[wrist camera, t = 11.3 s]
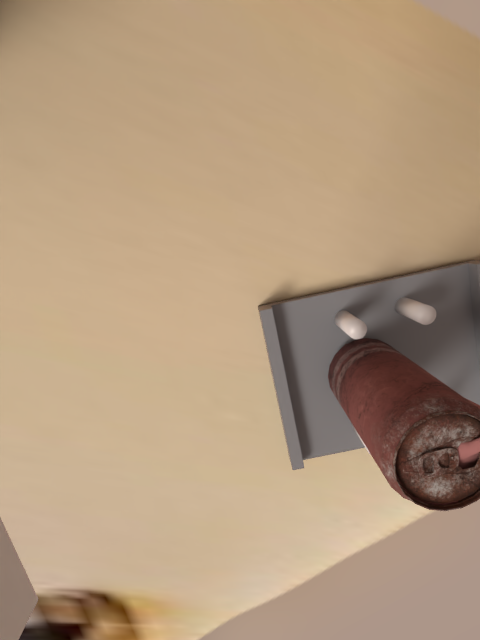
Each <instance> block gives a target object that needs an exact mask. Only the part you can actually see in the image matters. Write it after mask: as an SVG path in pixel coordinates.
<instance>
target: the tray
mask: <svg viewBox="0 0 480 640" xmlns="http://www.w3.org/2000/svg"><path fill="white" fill-rule="evenodd" d="M258 309H259V314H260V319H261V323H262V328H263V333H264V338H265V343H266V347H267V352H268V357H269V362H270V366H271V371H272V376H273V381H274V386H275V390H276V395H277V400H278V405H279V409H280V414H281V419H282V424H283V429H284V433H285V438H286V443H287V448H288V453H289V457H290V461H291V465H292V469H293V470H296V469H301V468H304V464H303V460H305V459H310V458H315V457H320V456H325V455H330V454H335V453H340V452H345V451H350V450H355V449H360V448H364V447H365V448H366V449H367V447H366V445H365V444H364V442H363V441H362V439H361V437H360V436H359V434H358V433H357V431H356V429H355V428H354V426H353V424H352V423H351V421H350V420H349V418H348V416H347V415H346V413H345V412H344V410H343V408H342V407H341V405H340V404H339V402H338V400H337V399H336V397H335V395H334V394H333V392H332V390H331V388H330V385H329V380H328V372H329V366H330V363H331V361H332V359H333V357H334V355H335V354H336V353H337V352H338V351H339V350H340V349H341V348H342V347H343V346H345V345H346V344H348V343H350V342H352V341H354V340H358V339H363V338H370V339H378V340H380V341H382V342H385V343H387V344H389V345H390V346H392V347H393V348H394V349H396V350H397V351H399V352H400V353H401V354H403V355H404V356H406V357H407V358H409V359H410V360H411V361H413V362H414V363H416V364H417V365H419V366H420V367H421V368H423V369H424V370H426V371H427V372H428V373H430V374H431V375H433V376H434V377H436V378H437V379H438V380H440V381H441V382H443V383H444V384H446V385H447V386H448V387H450V388H451V389H453V390H454V391H455V392H457V393H458V394H460V395H461V396H463V397H464V398H466V399H468V400H470V401H472V402H474V403H476V404H478V405H480V261H478V260H471V261H467V262H462V263H457V264H453V265H448V266H443V267H439V268H434V269H429V270H425V271H420V272H415V273H411V274H406V275H401V276H397V277H392V278H387V279H383V280H378V281H373V282H369V283H364V284H359V285H355V286H350V287H345V288H341V289H336V290H331V291H327V292H322V293H317V294H313V295H308V296H303V297H299V298H294V299H289V300H285V301H280V302H275V303H271V304H266V305H261V306H258ZM367 451H368V452H369V450H368V449H367ZM369 454H370V452H369Z"/></svg>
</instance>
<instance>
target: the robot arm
mask: <svg viewBox="0 0 480 640" xmlns="http://www.w3.org/2000/svg"><path fill="white" fill-rule="evenodd" d="M37 601H38V597H37V595H36V593H35V591H34V589H33V586H32V584H31V582H30V580H29V578H28V576H27V574H26V571H25V569H24V567H23V565H22V563H21V561H20V559H19V557H18V554H17V552H16V550H15V548H14V546H13V544H12V542H11V539H10V537H9V535H8V533H7V531H6V529H5V527H4V524H3V522H2V520H1V518H0V640H18V639H19V637H20V635H21V633H22V631H23V629H24V627H25V625H26V623H27V621H28V619H29V617H30V615H31V613H32V611H33V609H34V607H35V605H36V603H37Z"/></svg>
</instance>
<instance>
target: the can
mask: <svg viewBox="0 0 480 640" xmlns="http://www.w3.org/2000/svg"><path fill="white" fill-rule="evenodd" d="M328 380H329V385H330V388H331V390H332V392H333V394H334V395H335V397H336V399H337V400H338V402H339V404H340V405H341V407H342V408H343V410H344V412H345V413H346V415H347V416H348V418H349V420H350V421H351V423H352V424H353V426H354V428H355V429H356V431H357V433H358V434H359V436H360V437H361V439H362V441H363V442H364V444H365V445H366V447H367V449H368V450H369V452H370V454H371V455H372V457H373V458H374V460H375V462H376V463H377V465H378V466H379V468H380V470H381V471H382V473H383V475H384V476H385V478H386V479H387V481H388V483H389V484H390V486H391V487H392V488H393V489H394V490H395V491H396V492H398V493H399V494H400V495H401V496H402V497H403V498H405V499H408V500H410V501H412V502H414V503H415V504H417V505H420V506H422V507H424V508H427V509H429V510H440V511H448V510H454V509H459V508H463V507H465V506H467V505H469V504H471V503H473V502H475V501H477V500H479V499H480V405H478V404H476V403H474V402H472V401H470V400H468V399H466V398H464V397H463V396H461V395H460V394H458V393H457V392H455V391H454V390H453V389H451V388H450V387H448V386H447V385H446V384H444V383H443V382H441V381H440V380H438V379H437V378H436V377H434V376H433V375H431V374H430V373H428V372H427V371H426V370H424V369H423V368H421V367H420V366H419V365H417V364H416V363H414V362H413V361H411V360H410V359H409V358H407V357H406V356H404V355H403V354H401V353H400V352H399V351H397V350H396V349H394V348H393V347H392V346H390V345H389V344H387V343H385V342H382V341H380V340H378V339H370V338H363V339H358V340H354V341H352V342H350V343H348V344H346V345H345V346H343V347H342V348H341V349H340V350H339V351H338V352H337V353H336V354H335V355H334V357H333V359H332V361H331V363H330V366H329V372H328Z"/></svg>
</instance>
